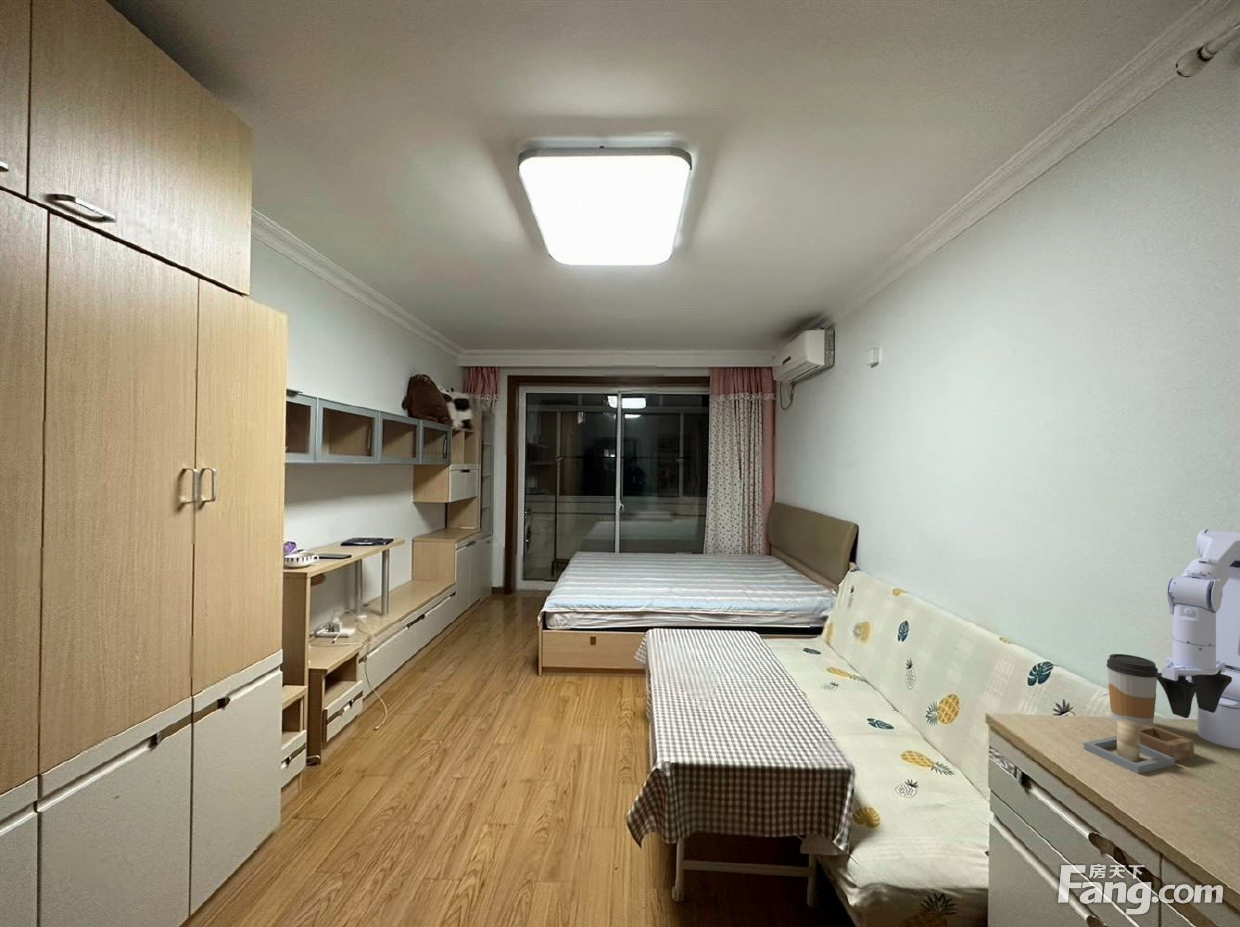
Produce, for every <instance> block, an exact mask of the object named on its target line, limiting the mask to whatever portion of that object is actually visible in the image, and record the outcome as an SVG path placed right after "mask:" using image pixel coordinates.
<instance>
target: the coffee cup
mask: <svg viewBox="0 0 1240 927" xmlns="http://www.w3.org/2000/svg"><path fill="white" fill-rule="evenodd" d="M1106 662H1107V663H1106V665H1105V666H1106V667H1107V674H1108V675H1107V676H1108V677H1107V678H1108V692H1109V693H1108V694H1109V704H1110V707H1109V708H1110V710H1111V711H1110V712H1111V721H1112V723H1114V724H1116V725H1117V720H1119V719H1123V720H1128V721H1132V722H1135V723H1137V724H1138V725H1139V726H1144V725H1149V724H1151V725H1153V726H1154V718H1155V712H1156V711H1155V709H1156V700H1157V684H1158V683H1157V682H1158V680H1157V678H1156V674H1157V673H1159V669H1158V668H1157V667H1156V663H1155V662H1154V661H1152V660H1150V659H1147V658H1144V657H1141V656H1138V655H1132V654H1123V653H1111V654H1110V655H1109V656H1108V659H1106Z"/></svg>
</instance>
